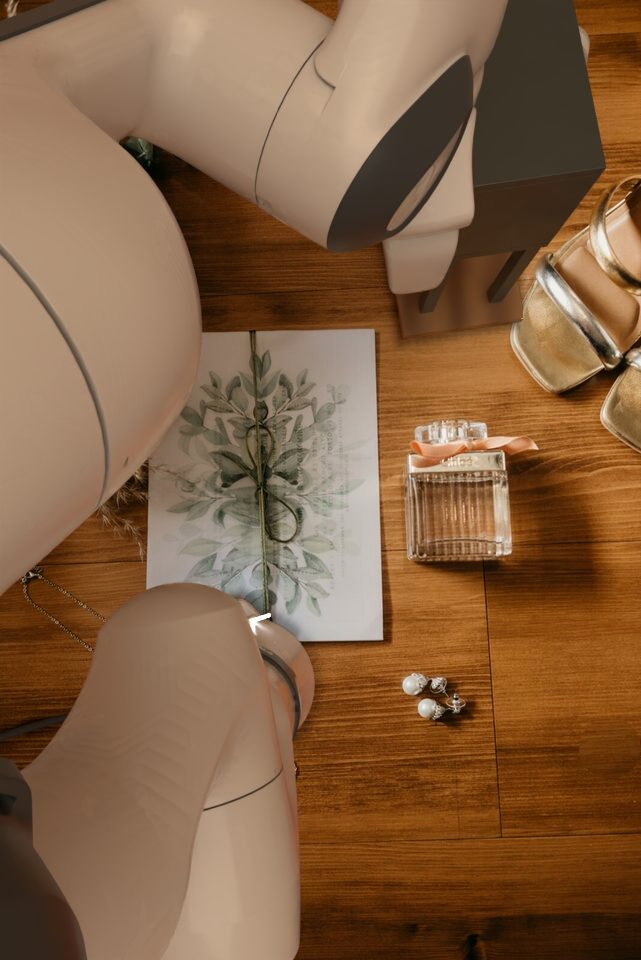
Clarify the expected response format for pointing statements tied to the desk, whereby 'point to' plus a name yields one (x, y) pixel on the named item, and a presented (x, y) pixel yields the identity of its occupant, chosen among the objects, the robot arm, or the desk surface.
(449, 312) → the base board
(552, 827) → the desk surface
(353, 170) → the robot arm
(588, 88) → the cabinet
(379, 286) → the desk surface
